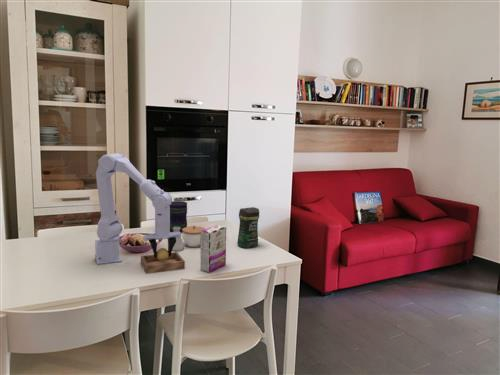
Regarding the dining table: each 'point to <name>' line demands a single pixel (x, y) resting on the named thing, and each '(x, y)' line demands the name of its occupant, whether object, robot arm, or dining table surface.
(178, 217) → the storage jar
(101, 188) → the robot arm
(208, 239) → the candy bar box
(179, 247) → the flask
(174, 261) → the tray
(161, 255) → the ball
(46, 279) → the dining table surface
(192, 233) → the lidded jar
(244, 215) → the coffee jar
